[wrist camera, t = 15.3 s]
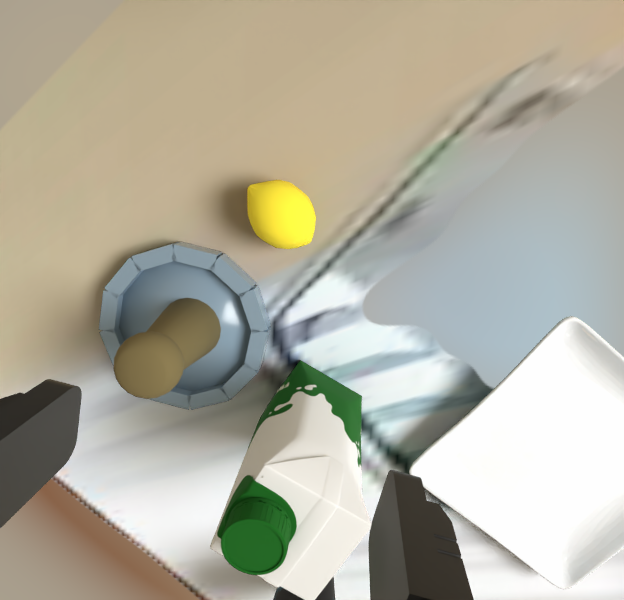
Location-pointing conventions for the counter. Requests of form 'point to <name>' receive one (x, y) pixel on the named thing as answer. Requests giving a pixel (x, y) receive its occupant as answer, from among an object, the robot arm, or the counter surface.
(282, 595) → the dixie cup
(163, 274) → the round dish
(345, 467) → the milk carton
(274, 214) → the lemon
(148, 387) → the tan pawn shape
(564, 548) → the salad plate
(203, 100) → the counter surface
